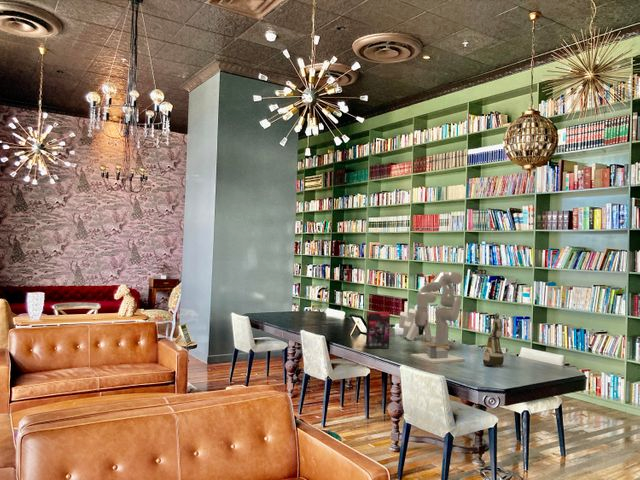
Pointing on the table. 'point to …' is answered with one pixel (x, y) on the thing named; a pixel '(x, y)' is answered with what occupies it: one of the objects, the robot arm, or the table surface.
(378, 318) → the graphics card box
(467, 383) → the table surface
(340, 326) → the table surface
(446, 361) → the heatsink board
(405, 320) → the pile of blocks
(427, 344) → the bar
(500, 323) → the statue
